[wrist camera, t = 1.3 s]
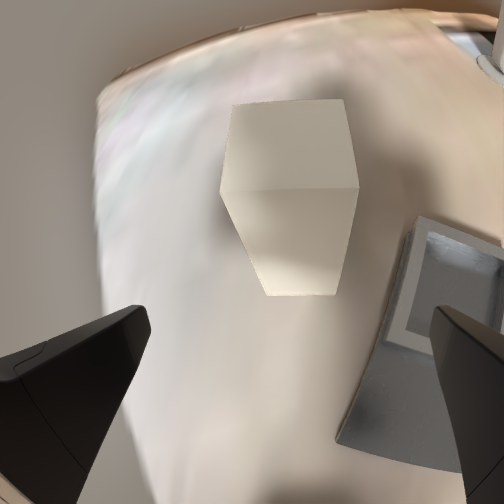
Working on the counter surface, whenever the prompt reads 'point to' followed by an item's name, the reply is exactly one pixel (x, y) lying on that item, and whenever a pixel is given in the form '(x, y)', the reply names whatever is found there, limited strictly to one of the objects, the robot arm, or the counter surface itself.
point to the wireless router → (495, 54)
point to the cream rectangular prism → (292, 191)
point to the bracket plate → (422, 346)
